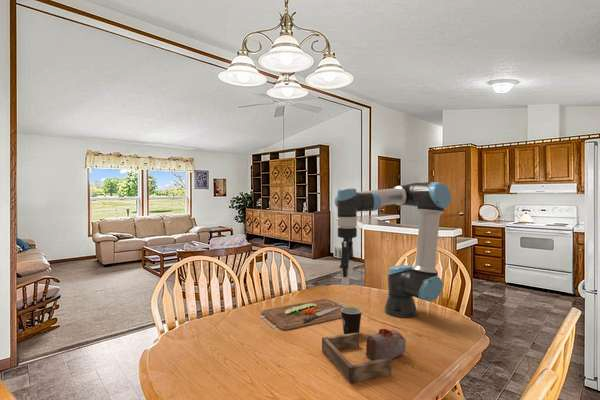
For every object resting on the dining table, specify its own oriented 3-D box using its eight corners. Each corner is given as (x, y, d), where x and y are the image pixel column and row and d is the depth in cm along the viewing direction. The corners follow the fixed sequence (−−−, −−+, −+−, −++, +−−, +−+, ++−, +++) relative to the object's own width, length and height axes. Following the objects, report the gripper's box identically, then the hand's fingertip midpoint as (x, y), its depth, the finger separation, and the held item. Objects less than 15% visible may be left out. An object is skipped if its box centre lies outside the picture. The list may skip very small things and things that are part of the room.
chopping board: (330, 299, 190) (330, 294, 190) (361, 315, 166) (361, 309, 166) (255, 314, 168) (255, 308, 168) (277, 334, 145) (277, 327, 145)
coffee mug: (361, 338, 138) (361, 314, 138) (340, 337, 140) (340, 313, 140) (362, 327, 150) (362, 305, 150) (342, 326, 152) (342, 304, 151)
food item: (392, 347, 131) (392, 322, 130) (407, 356, 123) (407, 330, 123) (363, 355, 124) (363, 329, 124) (378, 365, 117) (378, 337, 117)
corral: (357, 344, 133) (357, 332, 133) (391, 374, 111) (391, 359, 111) (322, 351, 128) (322, 338, 128) (350, 383, 106) (350, 367, 106)
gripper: (342, 223, 147) (342, 272, 148) (332, 230, 123) (333, 288, 124) (359, 224, 145) (359, 273, 146) (353, 231, 121) (353, 289, 122)
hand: (347, 280), depth 135 cm, fingers open, 13 cm apart
